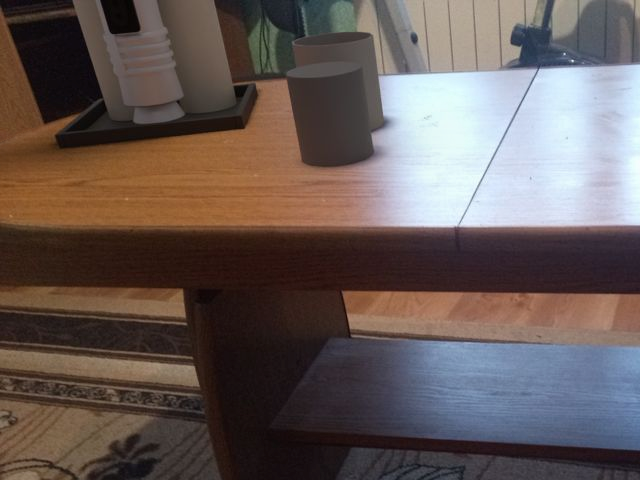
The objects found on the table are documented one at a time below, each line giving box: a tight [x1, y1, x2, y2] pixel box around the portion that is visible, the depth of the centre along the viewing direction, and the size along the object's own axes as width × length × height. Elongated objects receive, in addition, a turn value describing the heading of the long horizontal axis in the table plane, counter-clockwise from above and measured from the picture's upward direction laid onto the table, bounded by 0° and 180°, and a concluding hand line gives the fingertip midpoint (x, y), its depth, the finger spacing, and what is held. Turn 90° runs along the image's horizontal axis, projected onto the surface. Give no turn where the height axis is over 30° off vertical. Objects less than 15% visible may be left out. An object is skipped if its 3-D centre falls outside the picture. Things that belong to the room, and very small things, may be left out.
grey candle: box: [285, 62, 375, 168], centre depth 70 cm, size 7×7×9 cm
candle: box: [95, 0, 185, 124], centre depth 84 cm, size 7×7×15 cm
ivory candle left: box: [72, 0, 135, 121], centre depth 91 cm, size 7×7×15 cm
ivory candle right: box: [157, 0, 237, 113], centre depth 92 cm, size 7×7×15 cm
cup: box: [291, 31, 385, 132], centre depth 79 cm, size 8×8×10 cm
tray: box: [54, 82, 259, 149], centre depth 91 cm, size 21×19×2 cm
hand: (132, 26), depth 82 cm, fingers closed on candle, 6 cm apart
